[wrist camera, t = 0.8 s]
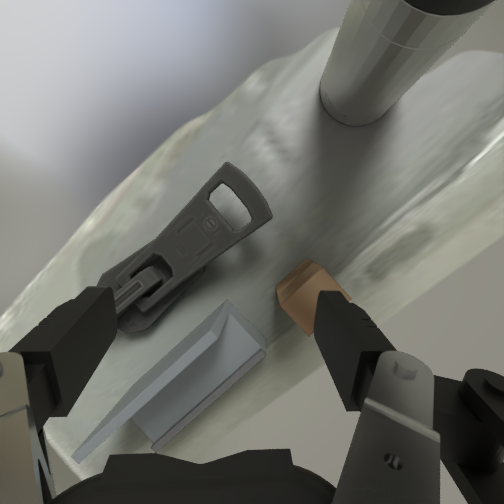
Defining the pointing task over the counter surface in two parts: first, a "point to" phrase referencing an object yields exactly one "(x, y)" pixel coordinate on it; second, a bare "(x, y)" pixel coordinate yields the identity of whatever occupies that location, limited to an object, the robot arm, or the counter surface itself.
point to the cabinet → (305, 293)
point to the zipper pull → (181, 252)
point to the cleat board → (185, 380)
